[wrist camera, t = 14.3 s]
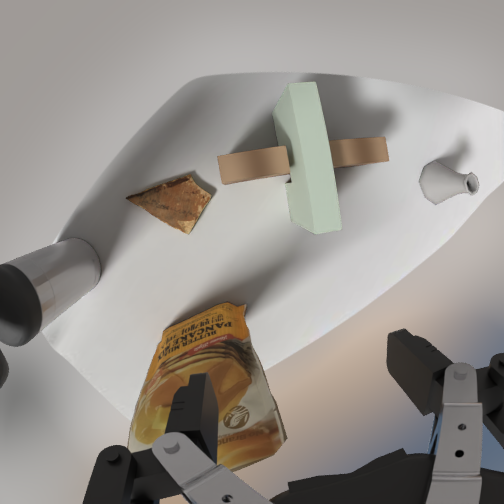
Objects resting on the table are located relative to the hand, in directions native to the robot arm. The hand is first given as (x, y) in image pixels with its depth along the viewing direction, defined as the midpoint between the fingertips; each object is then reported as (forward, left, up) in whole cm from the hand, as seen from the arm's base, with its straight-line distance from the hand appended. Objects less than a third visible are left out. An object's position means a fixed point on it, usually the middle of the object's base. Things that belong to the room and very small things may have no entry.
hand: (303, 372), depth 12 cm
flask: (+30, +13, -32) cm, 46 cm away
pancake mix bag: (-6, -15, -32) cm, 36 cm away
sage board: (+5, +12, -32) cm, 34 cm away
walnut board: (+5, +12, -32) cm, 34 cm away
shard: (-12, +4, -33) cm, 35 cm away
